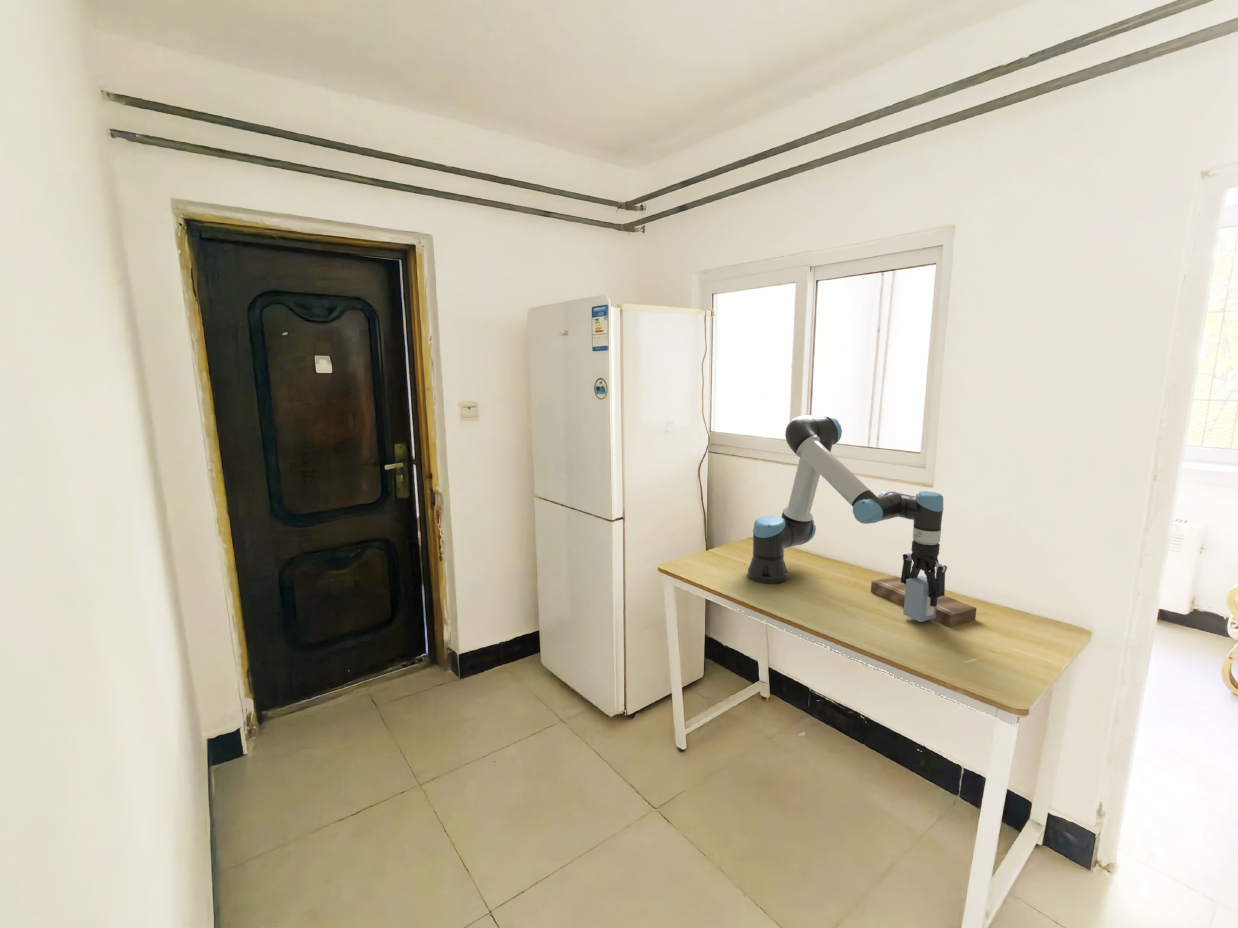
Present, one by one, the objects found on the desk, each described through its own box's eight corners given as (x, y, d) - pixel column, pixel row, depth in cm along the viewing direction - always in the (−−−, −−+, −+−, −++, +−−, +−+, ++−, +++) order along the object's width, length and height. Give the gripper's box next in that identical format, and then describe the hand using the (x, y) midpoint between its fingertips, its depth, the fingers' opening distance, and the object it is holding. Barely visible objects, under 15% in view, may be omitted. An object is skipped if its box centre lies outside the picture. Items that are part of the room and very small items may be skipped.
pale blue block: (903, 614, 172) (906, 579, 169) (926, 607, 176) (930, 573, 174) (920, 622, 166) (923, 585, 164) (944, 615, 170) (947, 579, 168)
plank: (870, 591, 193) (871, 580, 192) (894, 585, 197) (895, 575, 197) (950, 627, 166) (951, 614, 165) (975, 619, 170) (976, 607, 170)
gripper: (891, 534, 173) (886, 601, 177) (946, 552, 156) (939, 625, 160) (907, 531, 176) (902, 597, 180) (963, 548, 159) (956, 620, 163)
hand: (919, 610), depth 170 cm, fingers closed on pale blue block, 6 cm apart
